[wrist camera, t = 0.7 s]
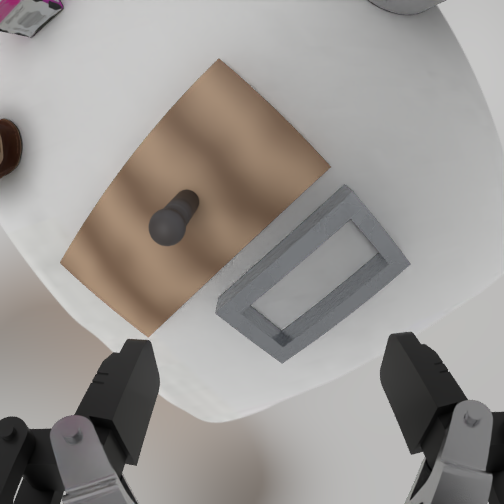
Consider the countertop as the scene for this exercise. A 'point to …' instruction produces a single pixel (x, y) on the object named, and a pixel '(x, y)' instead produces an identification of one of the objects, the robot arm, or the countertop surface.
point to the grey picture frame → (293, 253)
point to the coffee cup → (9, 147)
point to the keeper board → (218, 172)
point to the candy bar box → (27, 15)
